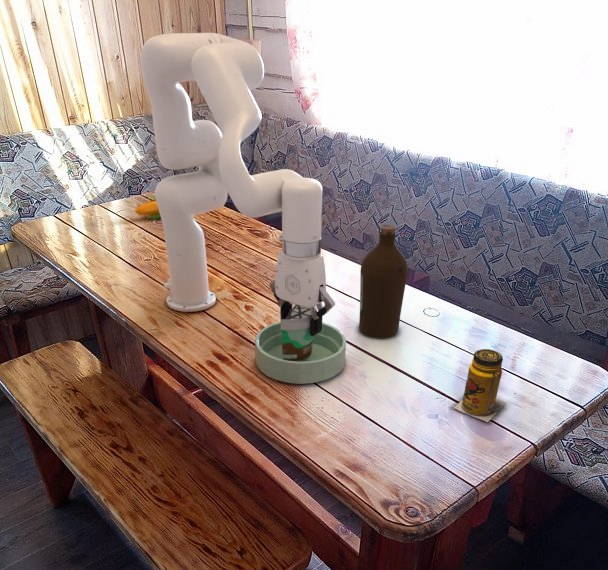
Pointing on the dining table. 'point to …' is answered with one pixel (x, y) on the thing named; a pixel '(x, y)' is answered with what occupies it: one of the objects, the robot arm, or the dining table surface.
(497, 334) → the dining table surface
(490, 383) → the condiment
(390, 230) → the olive oil
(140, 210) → the corn
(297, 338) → the food container
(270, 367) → the bowl
